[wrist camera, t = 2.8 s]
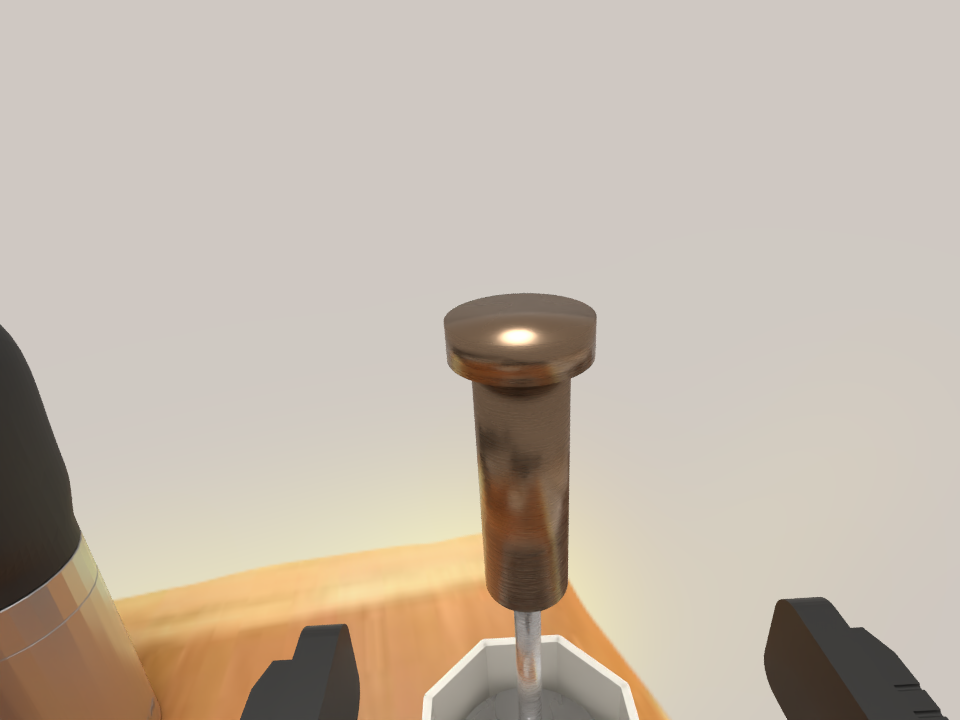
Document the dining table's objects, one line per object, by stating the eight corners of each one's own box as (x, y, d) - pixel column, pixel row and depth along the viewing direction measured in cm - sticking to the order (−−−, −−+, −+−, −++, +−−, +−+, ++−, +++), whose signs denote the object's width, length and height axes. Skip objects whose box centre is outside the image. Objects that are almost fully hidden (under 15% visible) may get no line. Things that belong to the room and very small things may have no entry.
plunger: (444, 895, 21) (361, 383, 12) (449, 701, 29) (400, 286, 19) (641, 884, 21) (707, 363, 12) (598, 693, 28) (619, 273, 19)
